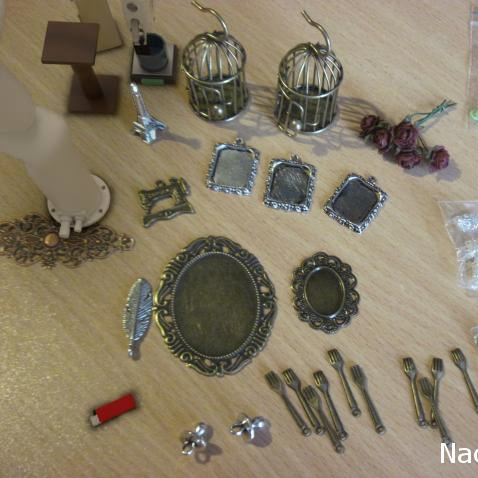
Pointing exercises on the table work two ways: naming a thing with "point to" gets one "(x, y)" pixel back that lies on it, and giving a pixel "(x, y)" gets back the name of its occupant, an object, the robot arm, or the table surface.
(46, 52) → the stand
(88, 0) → the beige tall block
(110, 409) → the lighter
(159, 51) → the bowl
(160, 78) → the scale
